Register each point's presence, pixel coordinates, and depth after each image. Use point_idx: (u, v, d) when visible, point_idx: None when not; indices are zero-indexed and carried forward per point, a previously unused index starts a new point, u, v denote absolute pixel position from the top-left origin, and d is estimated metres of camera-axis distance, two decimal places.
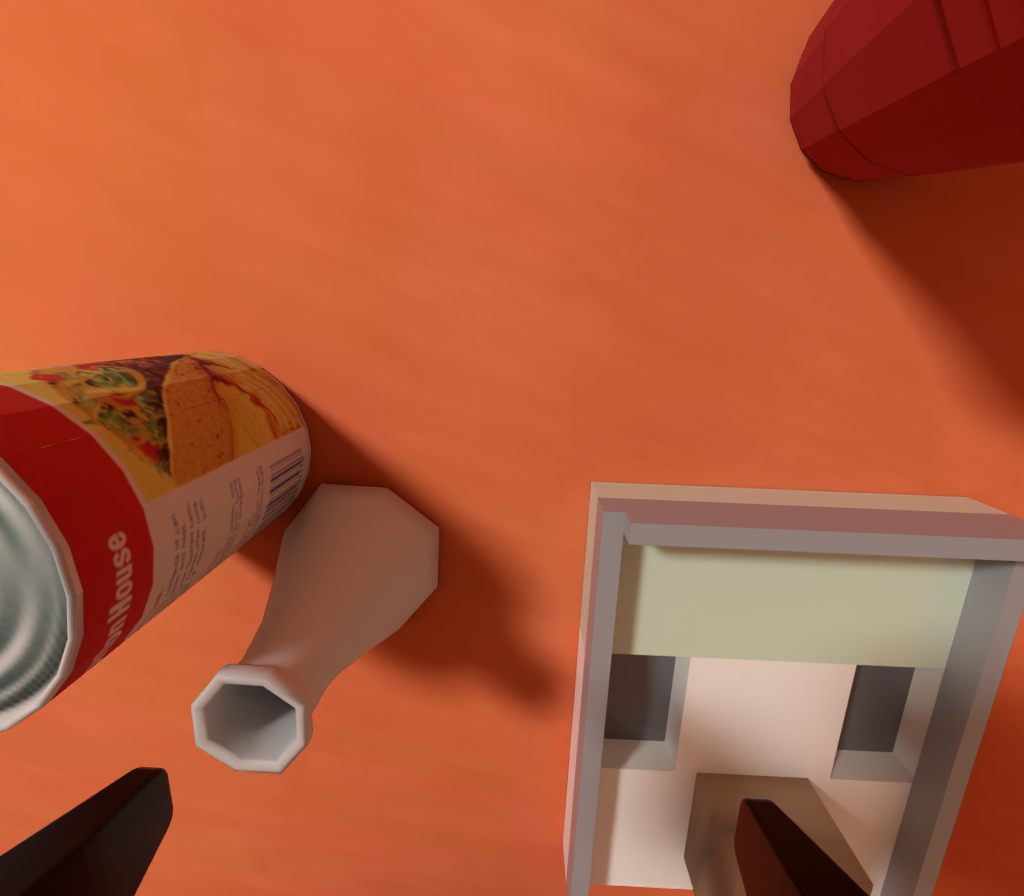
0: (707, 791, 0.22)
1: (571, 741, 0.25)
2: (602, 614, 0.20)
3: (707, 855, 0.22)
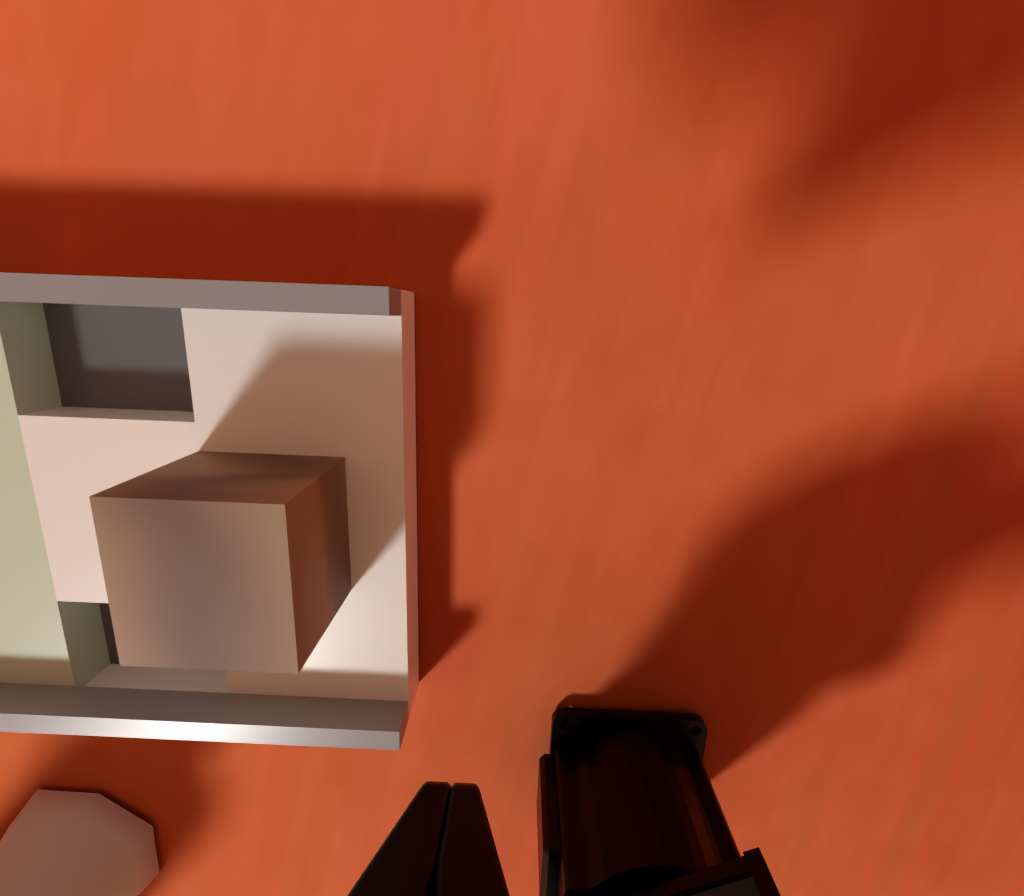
0: None
1: None
2: None
3: None
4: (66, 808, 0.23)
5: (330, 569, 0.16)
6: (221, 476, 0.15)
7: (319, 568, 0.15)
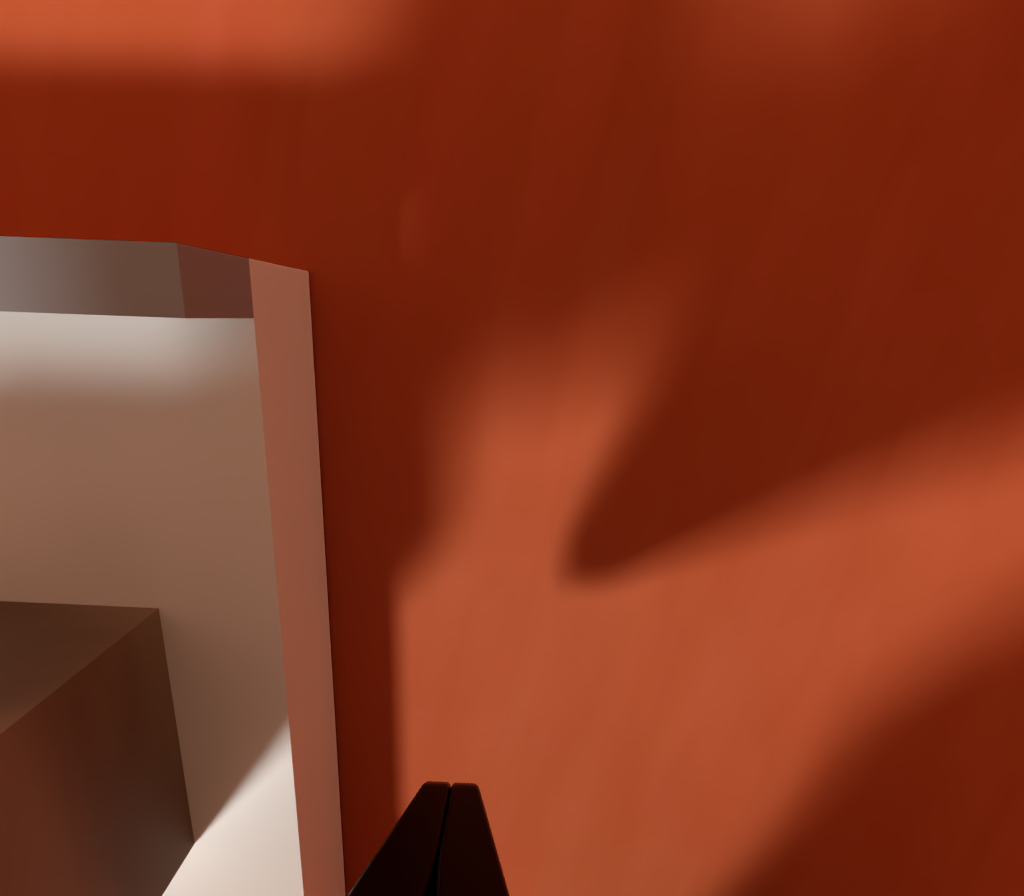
0: None
1: None
2: None
3: None
4: None
5: (100, 876, 0.07)
6: None
7: None
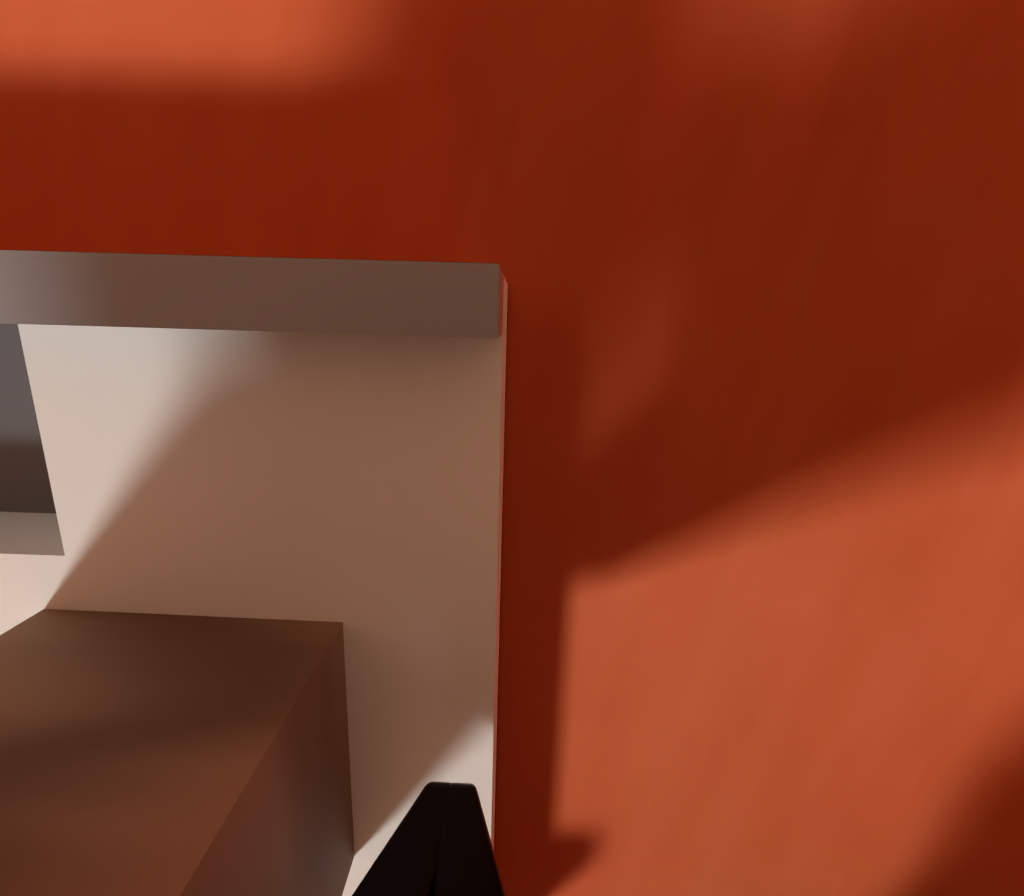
0: None
1: None
2: None
3: None
4: None
5: (308, 891, 0.07)
6: (35, 737, 0.06)
7: None
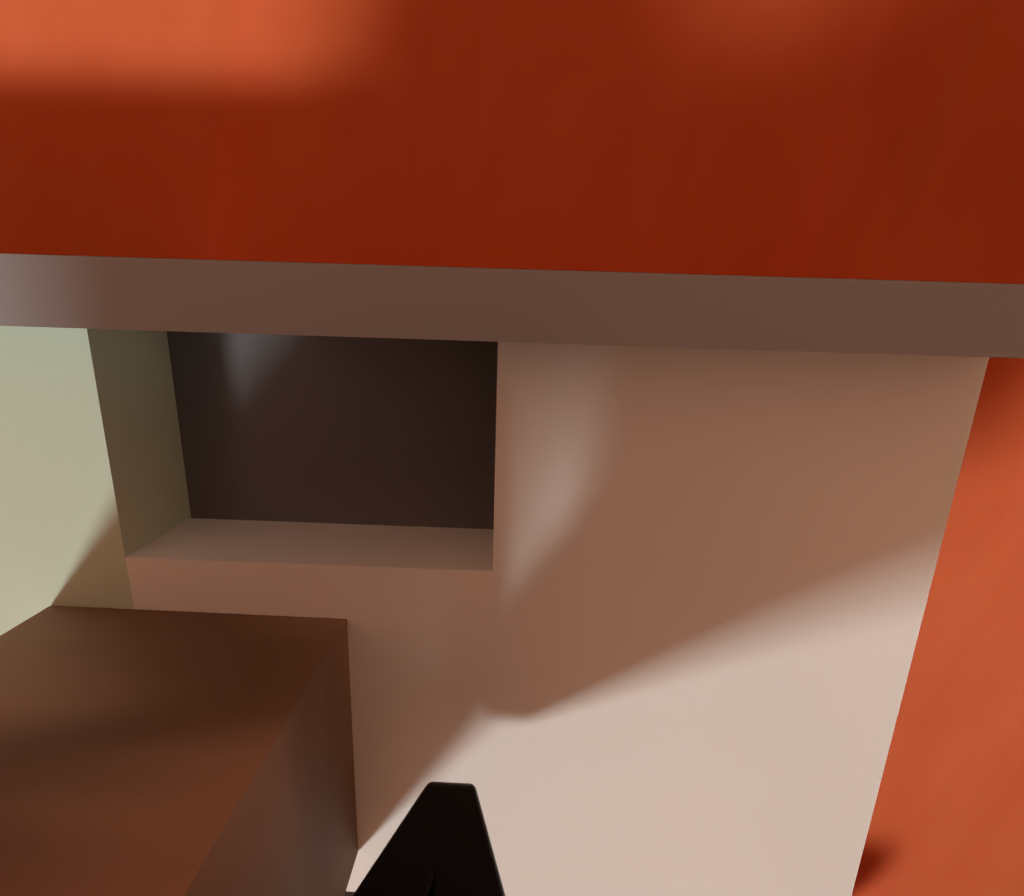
0: None
1: None
2: None
3: None
4: None
5: (313, 885, 0.07)
6: (44, 730, 0.06)
7: None
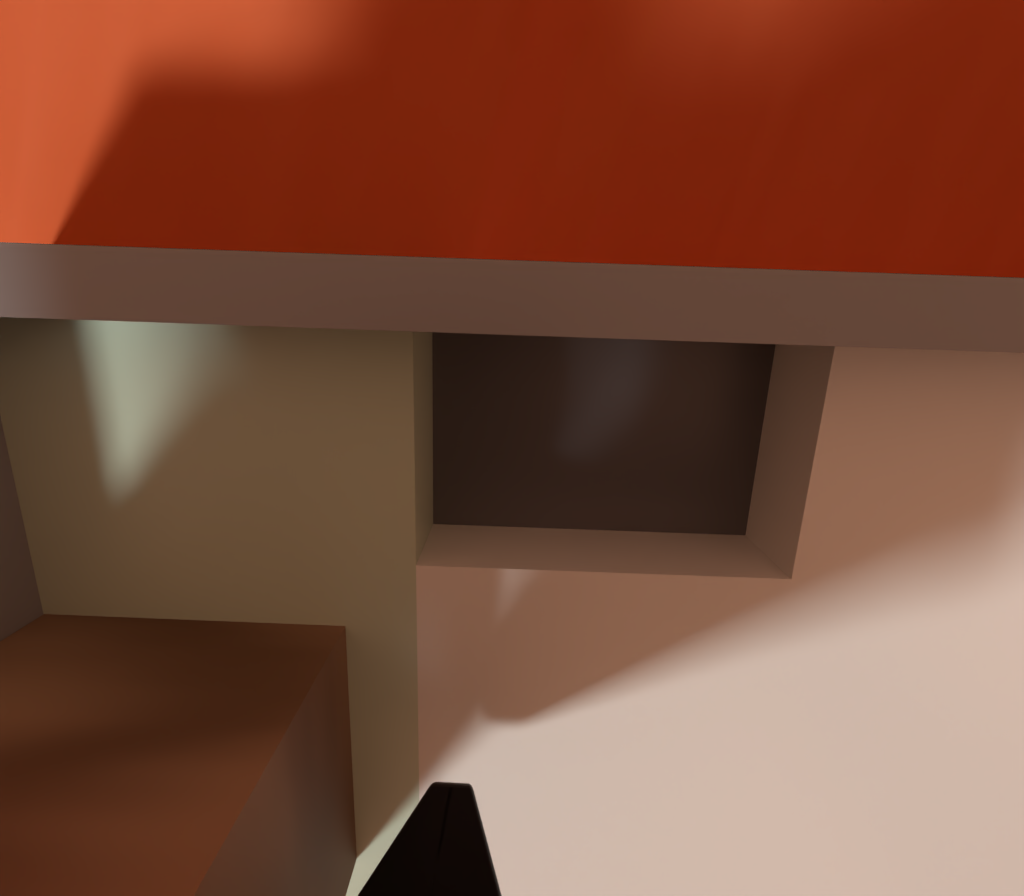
0: None
1: None
2: None
3: None
4: None
5: (313, 894, 0.07)
6: (39, 744, 0.06)
7: None
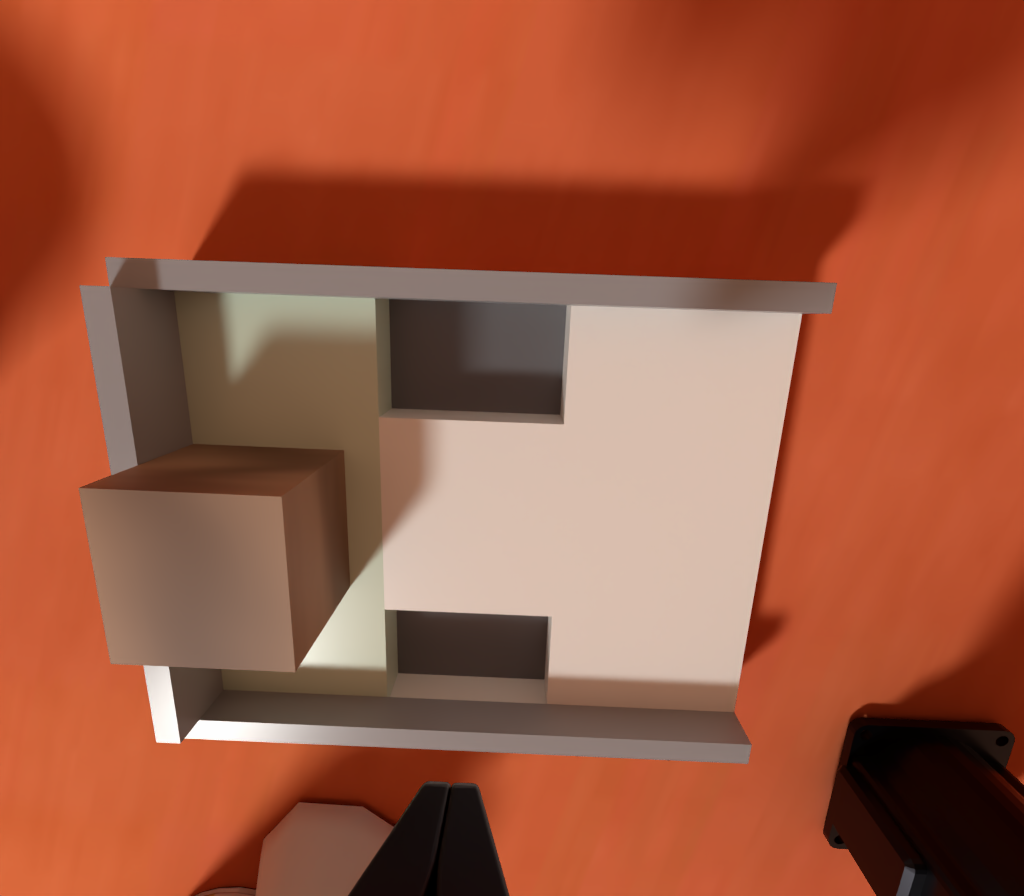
0: None
1: None
2: (297, 736, 0.18)
3: None
4: (336, 822, 0.22)
5: (328, 565, 0.16)
6: (216, 468, 0.14)
7: (317, 563, 0.15)
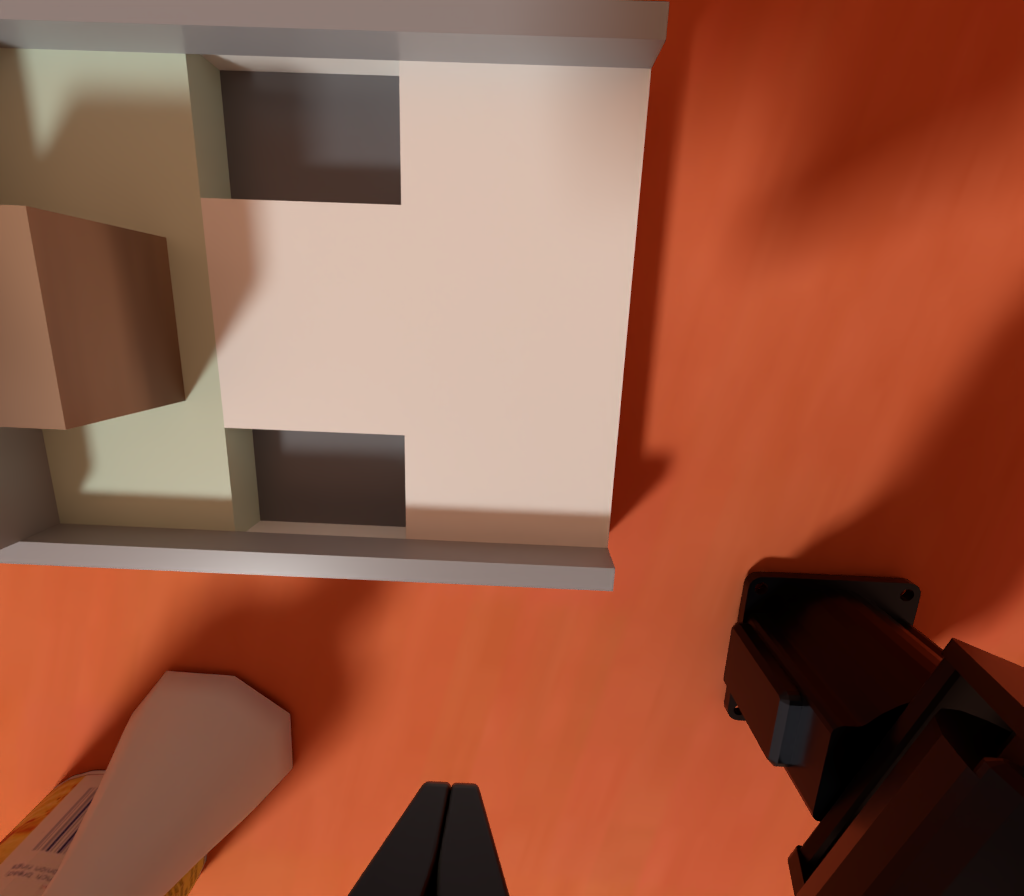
0: None
1: None
2: (125, 560, 0.17)
3: None
4: (202, 688, 0.21)
5: (136, 349, 0.14)
6: None
7: (111, 332, 0.14)
